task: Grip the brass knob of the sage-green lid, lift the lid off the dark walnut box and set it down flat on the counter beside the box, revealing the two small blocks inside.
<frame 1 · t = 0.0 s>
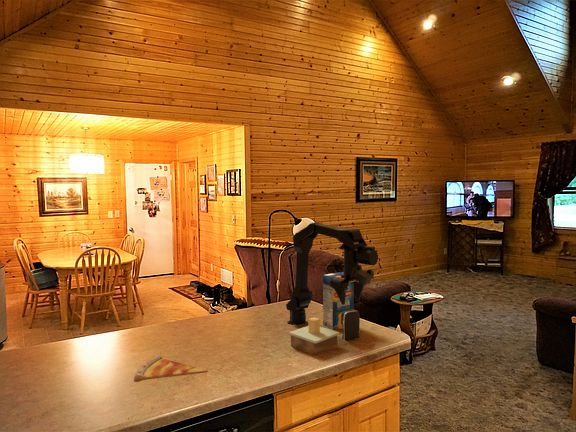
hand: (350, 302, 167), 15 cm above the counter, tool pointing down, fingers open, 9 cm apart
lid: (314, 334, 160), point 5 cm above the counter, touching box
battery: (349, 340, 168), on the counter
pizza slice: (163, 375, 139), on the counter
beverage box: (337, 326, 184), on the counter
cream block: (322, 346, 160), point 1 cm above the counter, touching box
box: (314, 347, 160), on the counter
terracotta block: (305, 346, 160), point 1 cm above the counter, touching box
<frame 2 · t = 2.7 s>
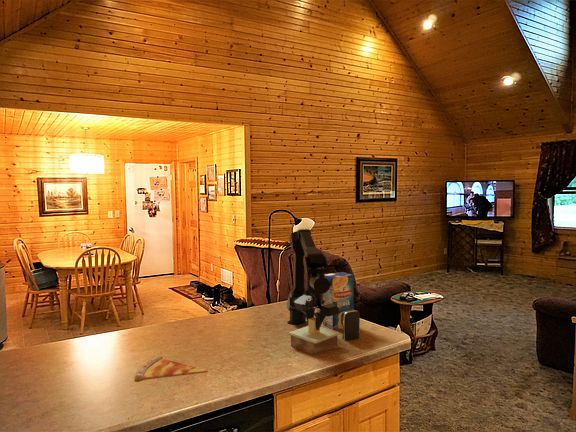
hand: (314, 329, 160), 7 cm above the counter, tool pointing down, fingers closed on lid, 3 cm apart
lid: (314, 334, 160), point 5 cm above the counter, touching box, gripper
everything else where it was.
when the fingers open (3 cm above the counter, at t = 7.8 s): lid drops 2 cm, on the counter.
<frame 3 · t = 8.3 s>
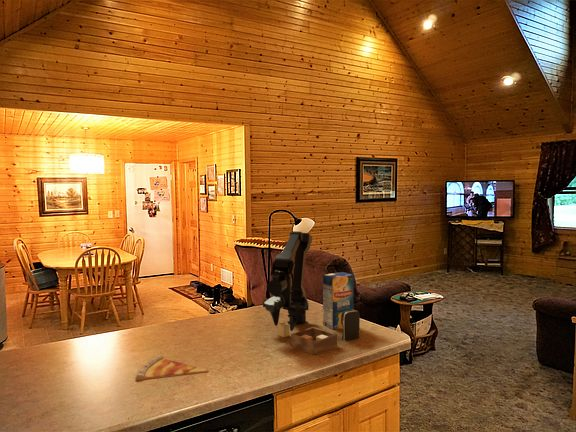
hand: (283, 328, 171), 3 cm above the counter, tool pointing down, fingers open, 8 cm apart
lid: (283, 338, 171), on the counter
everything else where it was.
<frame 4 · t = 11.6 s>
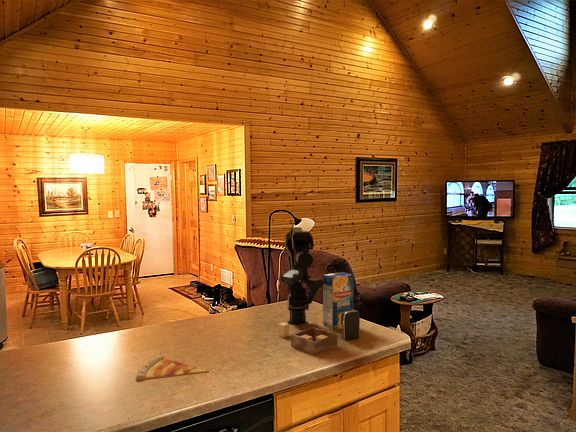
hand: (301, 301, 175), 13 cm above the counter, tool pointing down, fingers open, 9 cm apart
nothing on the counter moved.
at the end: lid inside the target area (0.0 cm from its centre), on the counter; lid touching counter; the gripper is holding nothing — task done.
